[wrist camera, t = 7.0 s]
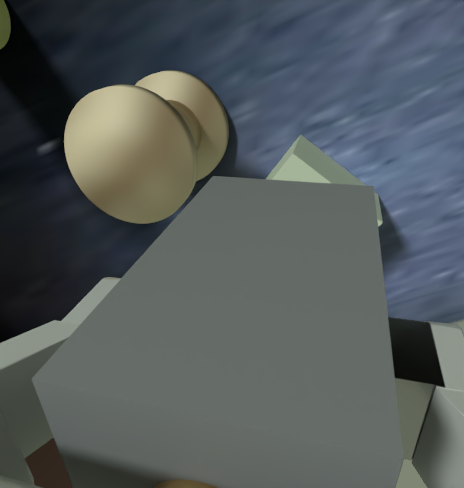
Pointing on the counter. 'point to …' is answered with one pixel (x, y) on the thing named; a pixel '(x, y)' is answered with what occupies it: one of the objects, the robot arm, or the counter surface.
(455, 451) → the robot arm
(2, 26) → the tube
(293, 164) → the notch board
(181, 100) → the bobbin
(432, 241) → the counter surface
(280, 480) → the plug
